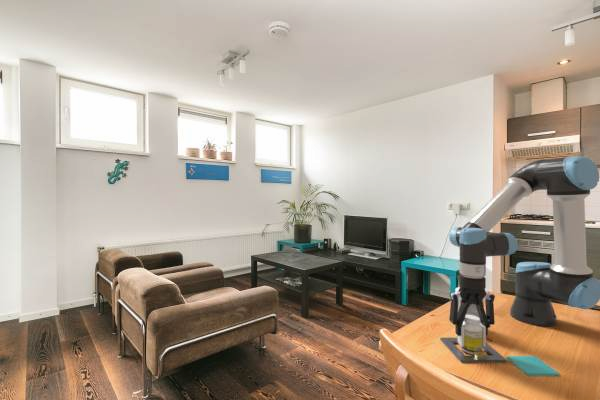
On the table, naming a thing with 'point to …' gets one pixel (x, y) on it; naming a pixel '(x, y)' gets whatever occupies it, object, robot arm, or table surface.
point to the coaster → (532, 366)
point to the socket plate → (478, 356)
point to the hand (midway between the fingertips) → (471, 344)
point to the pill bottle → (472, 334)
